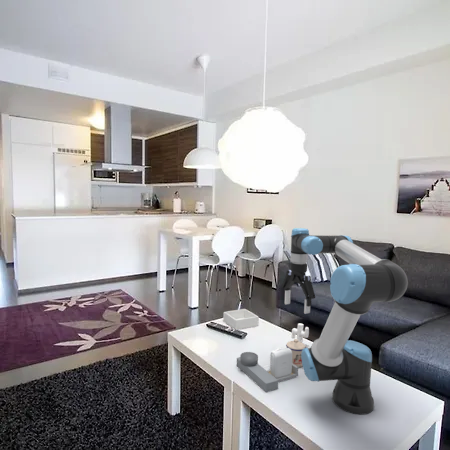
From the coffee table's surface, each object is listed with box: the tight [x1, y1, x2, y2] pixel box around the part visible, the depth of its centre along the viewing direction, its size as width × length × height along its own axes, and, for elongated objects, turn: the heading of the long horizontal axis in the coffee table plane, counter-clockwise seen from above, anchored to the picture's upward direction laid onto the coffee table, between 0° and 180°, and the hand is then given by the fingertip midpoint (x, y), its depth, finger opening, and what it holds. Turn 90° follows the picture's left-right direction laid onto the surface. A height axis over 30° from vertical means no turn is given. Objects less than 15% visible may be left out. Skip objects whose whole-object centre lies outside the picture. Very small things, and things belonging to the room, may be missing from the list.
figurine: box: [291, 323, 310, 348], centre depth 170 cm, size 7×9×15 cm
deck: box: [236, 351, 299, 393], centre depth 150 cm, size 24×21×7 cm
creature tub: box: [222, 308, 260, 331], centre depth 207 cm, size 16×16×6 cm
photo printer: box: [269, 347, 292, 379], centre depth 146 cm, size 10×4×12 cm, turn 117°
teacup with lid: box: [285, 338, 307, 368], centre depth 160 cm, size 12×9×12 cm
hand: (296, 308), depth 152 cm, fingers open, 13 cm apart
